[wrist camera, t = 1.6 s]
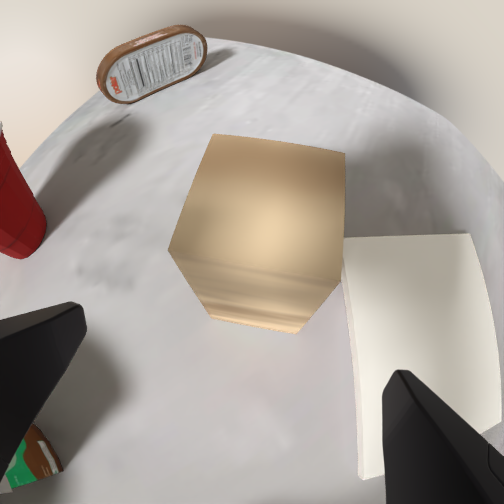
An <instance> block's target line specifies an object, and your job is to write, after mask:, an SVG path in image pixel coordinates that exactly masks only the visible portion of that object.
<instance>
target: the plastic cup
mask: <svg viewBox="0 0 504 504" xmlns="http://www.w3.org/2000/svg"><path fill="white" fill-rule="evenodd" d="M2 131H3V130H2V122H1V121H0V252H1V253H3V254H6V255H8V256H10V257H13V258H16V259H17V258H18V259H24V258H27V257H28V256H30V255H31V254H32V253H33V252H35V250H36V249H37V247H38V246H39V245H40V243H41V241H42V239H43V237H44V234H45V230H46V224H47V223H46V218H45V215H44V213H43V211H42V209H41V208H40V206H39V204H38V203H37V201H36V200H35V198H34V196H33V193H32V191H31V189H30V188H29V186H28V184H27V183H26V181H25V179H24V177H23V176H22V174H21V172H20V170H19V168H18V166H17V165H16V163H15V161H14V159H13V157H12V155H11V151H10V149H9V147H8V146H7V144H6V143H7V142H6V140H5V138H4V134H3V132H2Z"/></svg>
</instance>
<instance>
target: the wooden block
mask: <svg viewBox="0 0 504 504" xmlns="http://www.w3.org/2000/svg"><path fill="white" fill-rule="evenodd" d="M344 216H345V153H341V152H337V151H332V150H327V149H322V148H316V147H311V146H305V145H299V144H293V143H287V142H281V141H274V140H266V139H259V138H251V137H242V136H232V135H222V134H213V135H212V137H211V140H210V142H209V144H208V146H207V149H206V151H205V153H204V156H203V158H202V161H201V163H200V165H199V168H198V170H197V173H196V175H195V178H194V180H193V183H192V185H191V188H190V190H189V193H188V196H187V198H186V201H185V203H184V206H183V209H182V211H181V214H180V217H179V220H178V222H177V225H176V228H175V231H174V234H173V236H172V239H171V242H170V245H169V248H168V251H169V253H170V255H171V256H172V258H173V259H174V261H175V263H176V264H177V266H178V268H179V269H180V271H181V272H182V274H183V275H184V277H185V279H186V280H187V282H188V283H189V285H190V286H191V288H192V290H193V291H194V293H195V294H196V296H197V297H198V299H199V300H200V302H201V303H202V305H203V306H204V308H205V309H206V311H207V312H208V314H209V315H210V317H211V318H213V319H218V320H222V321H227V322H232V323H237V324H242V325H247V326H252V327H258V328H263V329H269V330H275V331H280V332H286V333H292V334H297V333H298V332H299V331H300V329H301V328H302V327H303V326H304V325H305V324H306V322H307V321H308V320H309V319H310V318H311V317H312V315H313V314H314V313H315V312H316V311H317V309H318V308H319V307H320V306H321V305H322V303H323V302H324V301H325V300H326V299H327V297H328V296H329V295H330V294H331V292H332V291H333V290H334V289H335V288H336V286H337V285H338V284H339V282H340V281H341V271H342V257H343V240H344Z"/></svg>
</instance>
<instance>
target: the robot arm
mask: <svg viewBox="0 0 504 504" xmlns="http://www.w3.org/2000/svg"><path fill="white" fill-rule="evenodd" d="M86 332H87V325H86V320H85V315H84V310H83V307H82V306H81V305H80V304H77V303H75V302H66V303H62V304H58V305H55V306H51V307H47V308H43V309H40V310H36V311H32V312H28V313H25V314H21V315H17V316H13V317H10V318H6V319H2V320H0V483H1V481H2V479H3V477H4V475H5V473H6V471H7V469H8V467H9V464H10V462H11V460H12V459H13V457H14V455H15V453H16V451H17V449H18V447H19V446H20V444H21V442H22V440H23V438H24V437H25V435H26V433H27V431H28V430H29V428H30V426H31V425H32V423H33V421H34V420H35V418H36V416H37V415H38V413H39V411H40V410H41V408H42V407H43V405H44V403H45V402H46V400H47V399H48V397H49V395H50V394H51V392H52V391H53V389H54V388H55V386H56V385H57V383H58V382H59V380H60V379H61V377H62V376H63V374H64V372H65V371H66V369H67V367H68V366H69V364H70V362H71V360H72V358H73V356H74V355H75V353H76V351H77V349H78V347H79V346H80V344H81V342H82V340H83V338H84V337H85V335H86ZM382 446H383V458H384V470H385V485H386V504H504V456H503V455H502V454H500V453H499V452H498V451H497V450H496V449H495V448H494V447H493V446H492V445H491V444H490V443H489V444H488V442H487V441H486V440H485V439H484V438H483V437H482V436H481V435H480V434H479V433H478V432H477V431H476V430H475V429H474V428H472V427H471V426H470V425H469V424H468V423H467V422H466V421H465V420H464V419H463V418H462V417H461V416H459V415H458V414H457V413H456V412H455V411H454V410H453V409H452V408H451V407H450V406H449V405H447V404H446V403H445V402H444V401H443V400H442V399H441V398H440V397H439V396H438V395H436V394H435V393H434V392H433V391H432V390H431V389H430V388H429V387H428V386H426V385H425V384H424V383H423V382H422V381H421V380H420V379H419V378H418V377H416V376H415V375H414V374H413V373H412V372H411V371H409V370H401V369H397V370H395V371H394V372H393V374H392V376H391V377H390V379H389V381H388V383H387V385H386V386H385V388H384V390H383V393H382Z"/></svg>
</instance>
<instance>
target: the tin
mask: <svg viewBox="0 0 504 504" xmlns="http://www.w3.org/2000/svg"><path fill="white" fill-rule="evenodd" d="M206 56H207V43H206V40H205V38H204V37H203V35H202V34H200V33H199V32H197V31H196V30H194V29H193V28H191V27H189V26H186V25H173V26H170V27H167V28H164V29H161V30H158V31H155V32H152V33H149V34H147V35H144V36H141V37H139V38H136V39H134V40H131V41H129V42H126V43H124V44H121V45H119V46H117V47H116V48H114V49H112V50H111V51H110V52H109V53H108V54H107V55H106V56H105V57H104V58H103V60H102V61H101V63H100V65H99V67H98V70H97V75H96V80H97V85H98V87H99V89H100V90H101V92H102V93H103V94H104V95H105V96H106V97H107V98H108V99H109V100H110V101H112V102H115V103H119V104H129V103H133V102H136V101H138V100H140V99H142V98H144V97H147V96H149V95H151V94H153V93H155V92H157V91H159V90H162V89H164V88H166V87H169V86H171V85H173V84H176V83H178V82H181V81H183V80H185V79H188V78H189V77H191V76H193V75H194V74H195V73H196V72H197V71H198V70H199V69H200V68H201V67H202V65H203V63H204V62H205V59H206Z"/></svg>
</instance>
